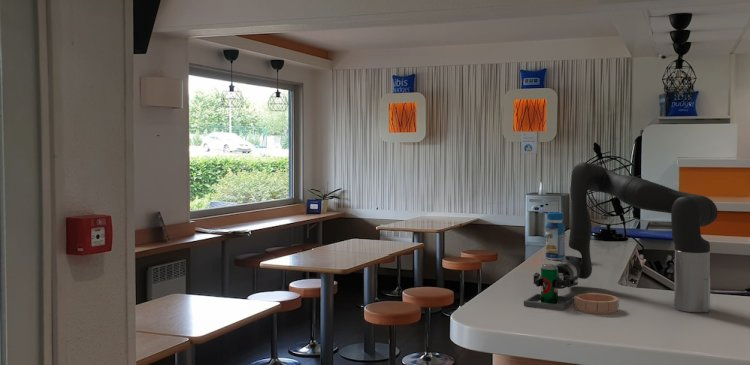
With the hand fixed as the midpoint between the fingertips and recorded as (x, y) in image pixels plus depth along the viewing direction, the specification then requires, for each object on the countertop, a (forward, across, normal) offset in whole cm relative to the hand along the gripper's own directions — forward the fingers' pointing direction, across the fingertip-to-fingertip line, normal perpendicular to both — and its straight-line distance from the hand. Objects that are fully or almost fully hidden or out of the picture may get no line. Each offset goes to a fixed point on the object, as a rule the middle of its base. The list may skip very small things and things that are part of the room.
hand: (546, 284), depth 201 cm
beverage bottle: (-88, -23, +7) cm, 91 cm away
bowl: (-3, +14, +7) cm, 16 cm away
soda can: (-3, 0, +7) cm, 7 cm away
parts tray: (-3, 0, +7) cm, 7 cm away
